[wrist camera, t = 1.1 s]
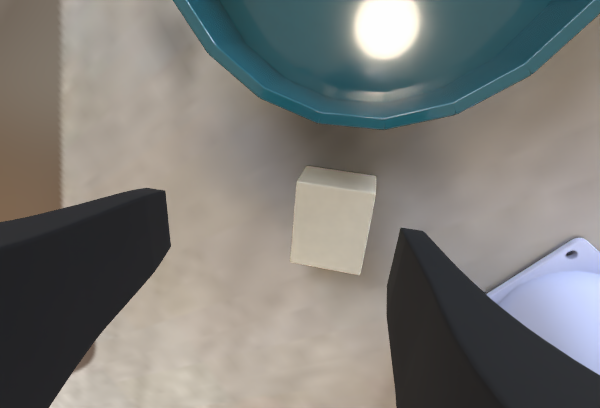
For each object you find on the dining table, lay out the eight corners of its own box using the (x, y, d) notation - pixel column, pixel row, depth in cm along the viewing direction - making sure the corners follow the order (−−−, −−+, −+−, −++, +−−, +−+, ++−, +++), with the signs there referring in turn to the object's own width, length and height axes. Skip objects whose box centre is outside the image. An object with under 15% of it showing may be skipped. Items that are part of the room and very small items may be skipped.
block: (376, 175, 19) (376, 193, 17) (362, 251, 22) (360, 276, 19) (305, 164, 20) (296, 181, 18) (298, 239, 22) (289, 262, 20)
